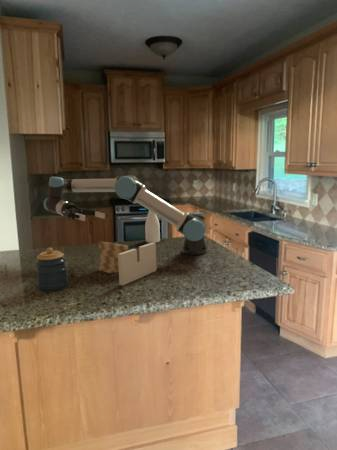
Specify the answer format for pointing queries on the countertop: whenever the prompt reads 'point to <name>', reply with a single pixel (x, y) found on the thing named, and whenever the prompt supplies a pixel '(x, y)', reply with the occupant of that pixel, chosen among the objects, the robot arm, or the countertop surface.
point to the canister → (51, 271)
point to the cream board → (136, 263)
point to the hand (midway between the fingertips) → (95, 217)
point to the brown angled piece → (110, 256)
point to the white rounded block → (152, 228)
